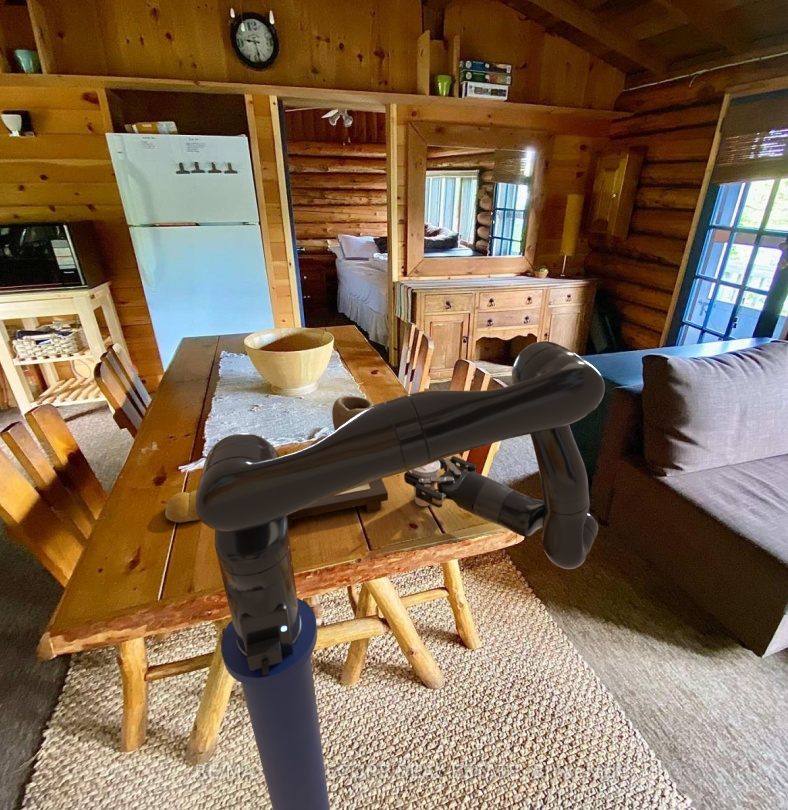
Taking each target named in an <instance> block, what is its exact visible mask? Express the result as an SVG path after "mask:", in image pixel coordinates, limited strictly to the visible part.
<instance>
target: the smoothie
mask: <svg viewBox="0 0 788 810" xmlns="http://www.w3.org/2000/svg"><path fill="white" fill-rule="evenodd" d="M410 472H411V473H413V474H415V475H417V476H419V477H421V479H430V478H431V477H439V476H438V475H439V473H440V472H441V469H440V462H439V461H436V462H433V463H431V464H428V465H425V466H422V467H419V468H416V469H413V470H410ZM424 486H425V487H430V484H425V485H424ZM436 486H437V483H435V484H434V488H435V489H436ZM412 487H413V494H414V502H415V504H416V505H417V506H420V507H428V506H430V505H431V504H429V503H427V502H425V501H423V500H421V499H419V498H417V497H416V496H415V494H416V487H414V486H412ZM422 494H425V493H424V492H422Z"/></svg>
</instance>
